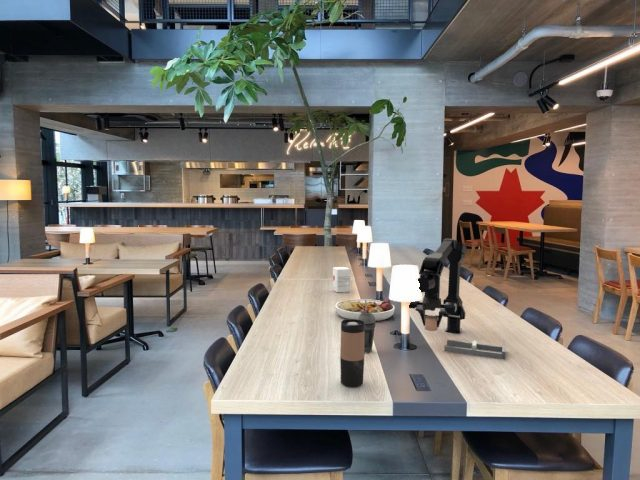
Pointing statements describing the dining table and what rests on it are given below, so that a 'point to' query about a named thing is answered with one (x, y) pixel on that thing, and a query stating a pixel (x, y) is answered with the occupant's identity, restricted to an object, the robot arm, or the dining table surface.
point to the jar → (431, 322)
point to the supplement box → (341, 279)
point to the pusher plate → (474, 345)
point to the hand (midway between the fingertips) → (431, 326)
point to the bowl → (357, 306)
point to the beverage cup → (368, 329)
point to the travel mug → (352, 352)
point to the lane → (474, 351)
